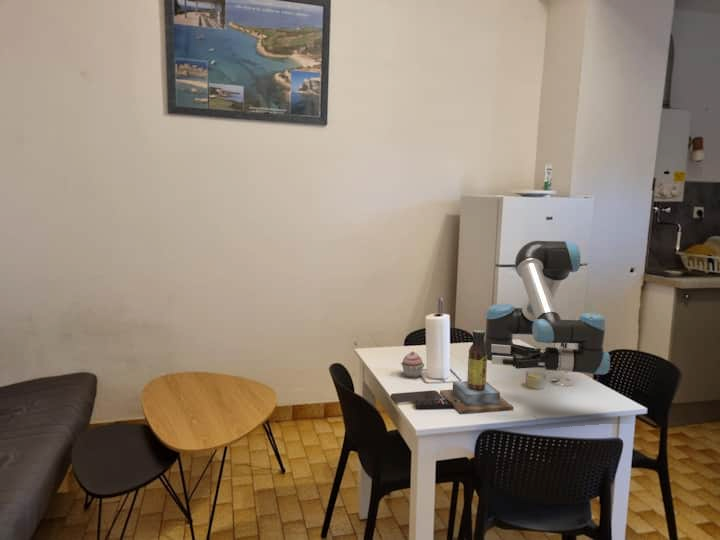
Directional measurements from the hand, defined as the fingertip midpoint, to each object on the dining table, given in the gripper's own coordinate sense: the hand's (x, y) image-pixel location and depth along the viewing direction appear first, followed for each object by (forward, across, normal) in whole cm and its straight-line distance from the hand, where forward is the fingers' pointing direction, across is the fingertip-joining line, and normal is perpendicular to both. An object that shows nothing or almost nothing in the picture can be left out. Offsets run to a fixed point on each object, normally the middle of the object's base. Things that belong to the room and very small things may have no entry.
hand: (491, 353), depth 175 cm
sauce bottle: (+4, 0, -13) cm, 13 cm away
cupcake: (+29, +21, -18) cm, 40 cm away
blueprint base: (+5, 0, -18) cm, 18 cm away
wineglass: (-28, +29, -18) cm, 44 cm away
